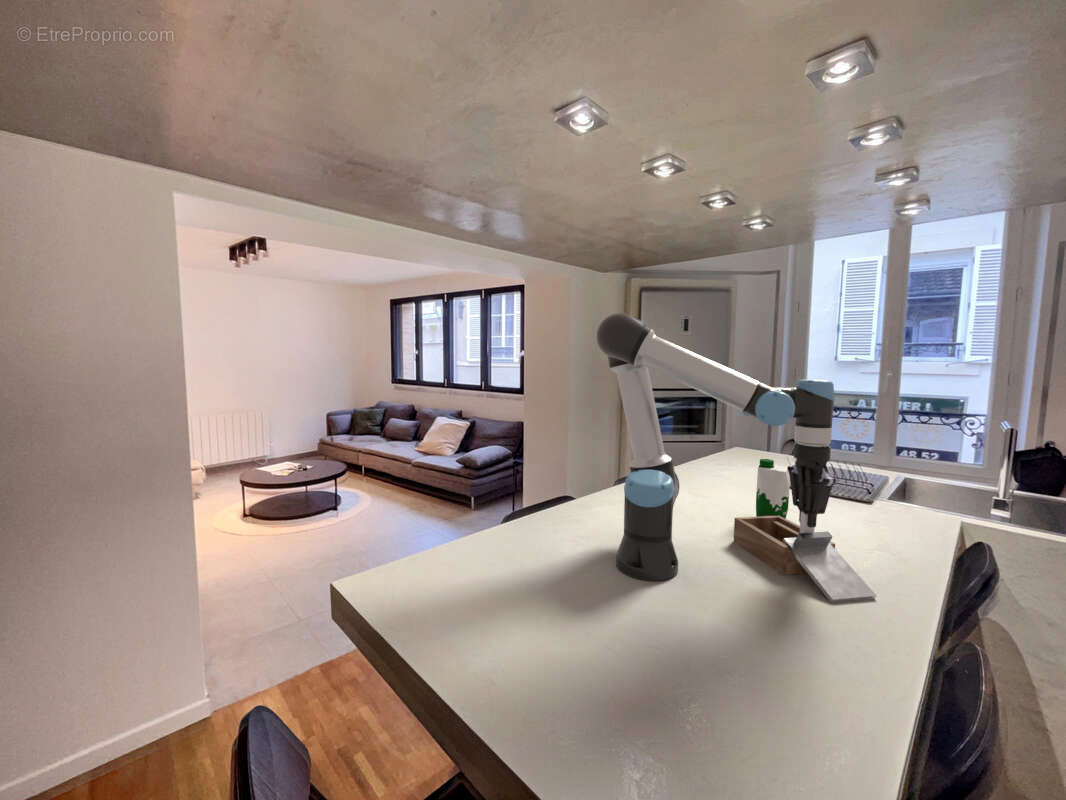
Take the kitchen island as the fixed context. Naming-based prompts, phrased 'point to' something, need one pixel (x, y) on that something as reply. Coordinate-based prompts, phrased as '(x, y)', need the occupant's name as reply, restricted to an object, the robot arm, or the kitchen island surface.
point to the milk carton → (772, 489)
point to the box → (769, 541)
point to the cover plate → (828, 567)
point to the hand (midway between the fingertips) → (806, 537)
